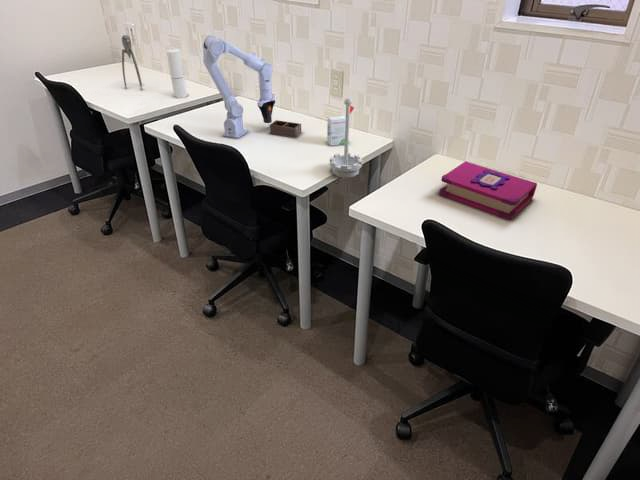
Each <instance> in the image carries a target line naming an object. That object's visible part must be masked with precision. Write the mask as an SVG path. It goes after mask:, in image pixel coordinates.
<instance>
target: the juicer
mask: <svg viewBox="0 0 640 480" xmlns="http://www.w3.org/2000/svg"><path fill="white" fill-rule="evenodd" d="M121 43H122V46H123V49H121V66H122V68H121V69H122V77H123V84H124V88H125V89H126V90H127V89H128V87H127V81H126V72H125V54H126V55H127V56H128V59H131V58H132V61H133V65H134V69H135V72H136V76H137V79H138V83H139V87H140V90H141V91H142V90H143V82H142V78H141V74H140V70H139V67H138V63H137V61H136V57H135V55H134V52H133V49H132V41H131V38H130V36H128V35H126V34H124V35H122V36H121Z"/></svg>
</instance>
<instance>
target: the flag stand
mask: <svg viewBox="0 0 640 480" xmlns="http://www.w3.org/2000/svg"><path fill="white" fill-rule="evenodd" d="M343 103H344V105H345V117H346V123H345V144H344V150H343V151H344V153H343V155H341V154H340V153H339V152H337V153H334V154H333V156H329V167H330V168H331V173H332V174H333V175H335V176H337V177H340V178H353V177H356V176H357V175H359V173H360V169H361V168H362V166H363V158H361V156H360V155H359V154H354V155H351V152H349V145H350V144H349V141H350V120H351V119H350V118H351V114H352V112H353V111H354V109H355V107H354V106H353V105H352V104H353V99H352V97H346V98H345V99H344V102H343Z"/></svg>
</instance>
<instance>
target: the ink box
mask: <svg viewBox="0 0 640 480" xmlns="http://www.w3.org/2000/svg"><path fill="white" fill-rule="evenodd" d="M345 123H346V115H339V116H329V117H327V123H326V124H327V125H326V127H327V132H326V135H327V136H326V143H327V144H328V145H329V146H340V145H345Z"/></svg>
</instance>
